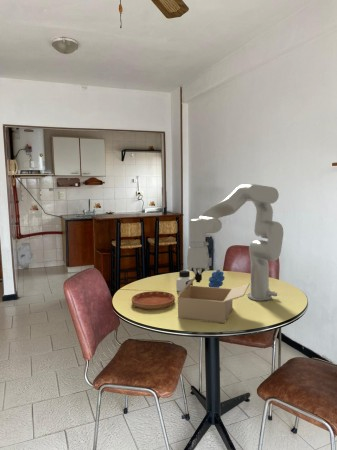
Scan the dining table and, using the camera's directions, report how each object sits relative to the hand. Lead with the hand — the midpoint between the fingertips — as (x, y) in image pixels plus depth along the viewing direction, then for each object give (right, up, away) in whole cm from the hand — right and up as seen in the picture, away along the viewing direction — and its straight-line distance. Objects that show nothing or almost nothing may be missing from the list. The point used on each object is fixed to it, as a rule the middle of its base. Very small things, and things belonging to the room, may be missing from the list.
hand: (198, 281), depth 168 cm
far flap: (-4, -1, +2) cm, 5 cm away
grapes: (+13, -11, +37) cm, 41 cm away
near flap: (+18, -4, -6) cm, 19 cm away
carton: (+4, -15, +1) cm, 16 cm away
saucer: (-23, -15, +16) cm, 31 cm away
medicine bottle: (-5, -11, +37) cm, 39 cm away
